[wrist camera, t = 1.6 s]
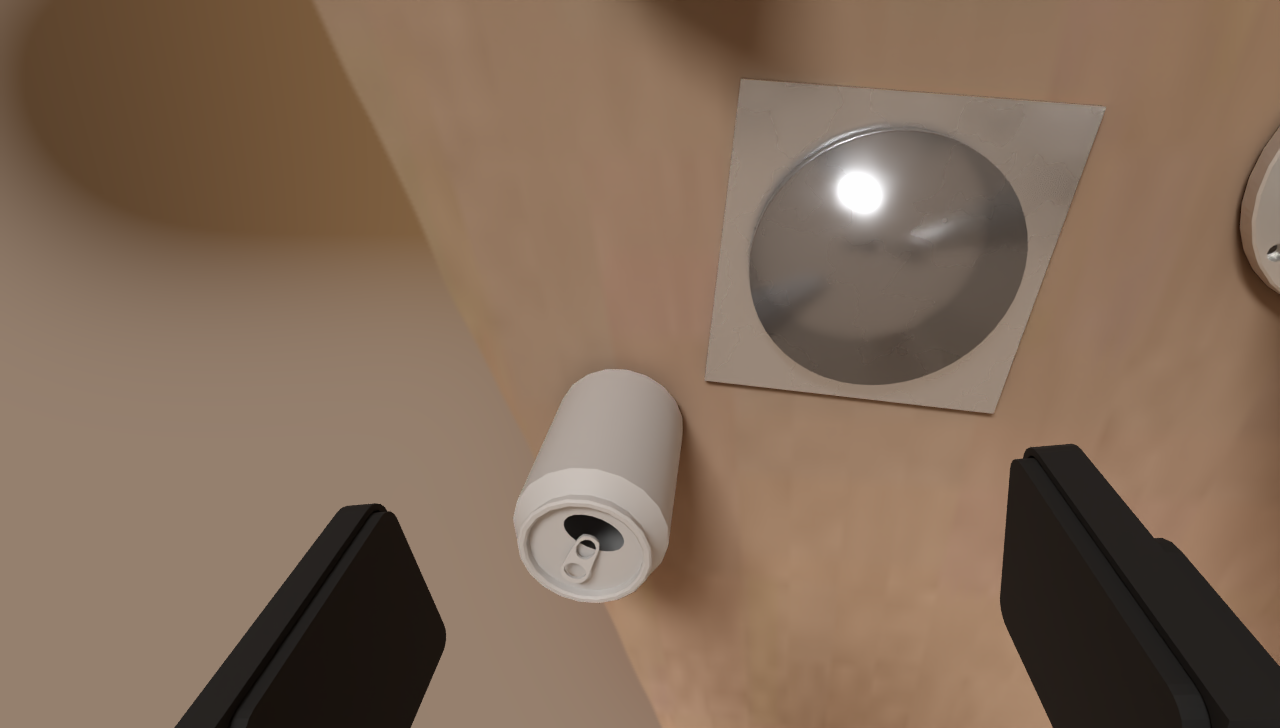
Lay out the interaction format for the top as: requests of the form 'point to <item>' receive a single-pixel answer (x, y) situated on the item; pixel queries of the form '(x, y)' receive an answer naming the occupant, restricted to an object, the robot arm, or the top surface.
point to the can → (602, 488)
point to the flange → (888, 239)
